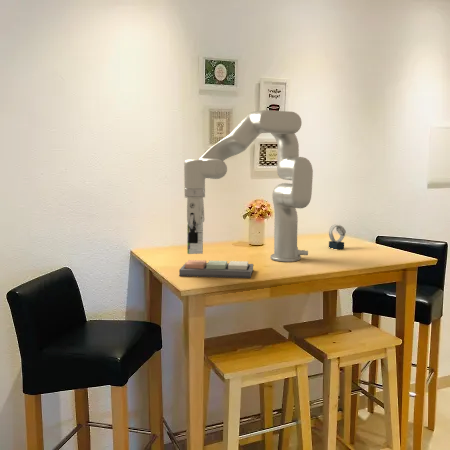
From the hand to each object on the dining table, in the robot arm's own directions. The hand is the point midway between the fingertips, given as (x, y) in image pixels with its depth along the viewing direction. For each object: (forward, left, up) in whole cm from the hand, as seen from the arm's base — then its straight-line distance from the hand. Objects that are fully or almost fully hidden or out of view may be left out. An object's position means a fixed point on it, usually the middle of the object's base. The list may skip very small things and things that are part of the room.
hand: (195, 240), depth 184 cm
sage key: (-8, 0, -10) cm, 13 cm away
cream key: (-16, 0, -10) cm, 19 cm away
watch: (-56, -51, -12) cm, 77 cm away
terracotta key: (0, 0, -10) cm, 10 cm away
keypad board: (-8, 0, -12) cm, 15 cm away
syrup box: (0, 0, -5) cm, 5 cm away
